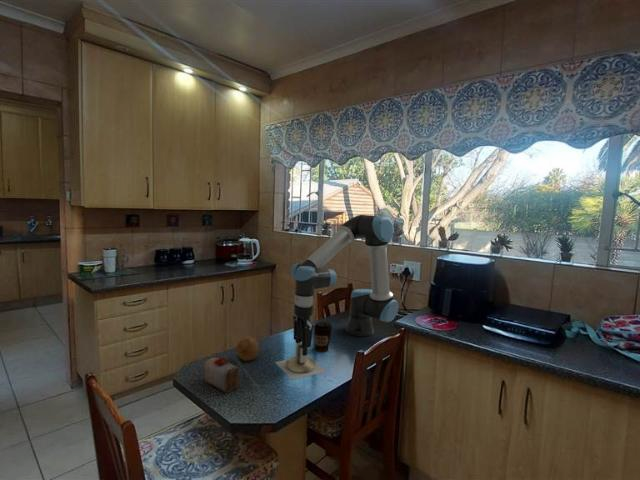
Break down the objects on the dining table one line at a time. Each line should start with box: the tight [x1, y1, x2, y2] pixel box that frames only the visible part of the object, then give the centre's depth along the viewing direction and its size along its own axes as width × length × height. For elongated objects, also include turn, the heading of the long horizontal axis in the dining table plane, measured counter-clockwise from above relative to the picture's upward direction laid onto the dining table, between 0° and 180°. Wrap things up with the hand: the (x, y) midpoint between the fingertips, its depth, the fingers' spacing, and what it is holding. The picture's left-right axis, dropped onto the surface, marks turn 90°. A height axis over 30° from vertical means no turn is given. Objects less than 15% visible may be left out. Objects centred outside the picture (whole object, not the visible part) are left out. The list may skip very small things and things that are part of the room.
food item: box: [203, 357, 240, 394], centre depth 127 cm, size 14×8×10 cm, turn 55°
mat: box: [274, 354, 327, 381], centre depth 143 cm, size 16×16×1 cm
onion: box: [236, 335, 261, 362], centre depth 148 cm, size 10×10×10 cm
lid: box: [286, 345, 316, 373], centre depth 143 cm, size 12×12×8 cm
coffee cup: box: [313, 321, 333, 353], centre depth 161 cm, size 9×8×13 cm
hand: (301, 360), depth 143 cm, fingers closed on lid, 3 cm apart
